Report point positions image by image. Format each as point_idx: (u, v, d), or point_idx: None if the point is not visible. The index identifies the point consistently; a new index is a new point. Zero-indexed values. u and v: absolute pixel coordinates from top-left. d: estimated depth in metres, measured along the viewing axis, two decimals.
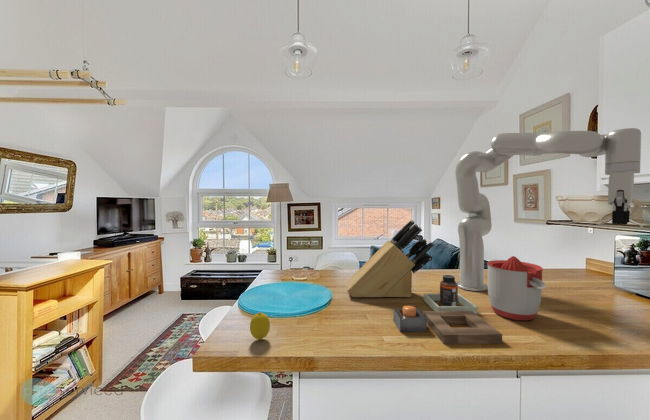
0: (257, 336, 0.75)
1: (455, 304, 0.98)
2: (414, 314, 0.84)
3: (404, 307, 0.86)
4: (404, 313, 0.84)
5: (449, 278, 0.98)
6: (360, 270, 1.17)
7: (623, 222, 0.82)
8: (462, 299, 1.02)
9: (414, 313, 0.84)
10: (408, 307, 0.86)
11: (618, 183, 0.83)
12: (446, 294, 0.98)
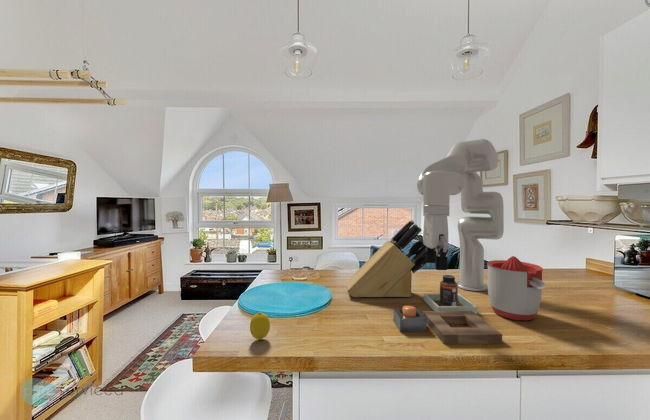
0: (257, 336, 0.75)
1: (455, 304, 0.98)
2: (414, 314, 0.84)
3: (404, 307, 0.86)
4: (404, 313, 0.84)
5: (449, 278, 0.98)
6: (360, 270, 1.17)
7: (444, 268, 0.80)
8: (462, 299, 1.02)
9: (414, 313, 0.84)
10: (408, 307, 0.86)
11: (440, 227, 0.80)
12: (446, 294, 0.98)
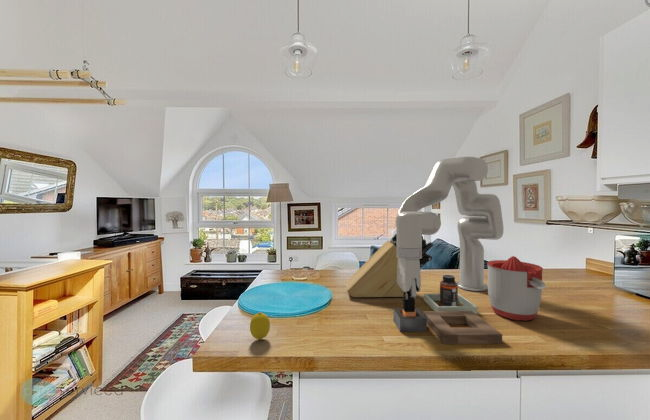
0: (257, 336, 0.75)
1: (455, 304, 0.98)
2: None
3: None
4: (404, 316, 0.84)
5: (449, 278, 0.98)
6: (360, 270, 1.17)
7: (412, 309, 0.84)
8: (462, 299, 1.02)
9: None
10: None
11: (412, 271, 0.80)
12: (446, 294, 0.98)
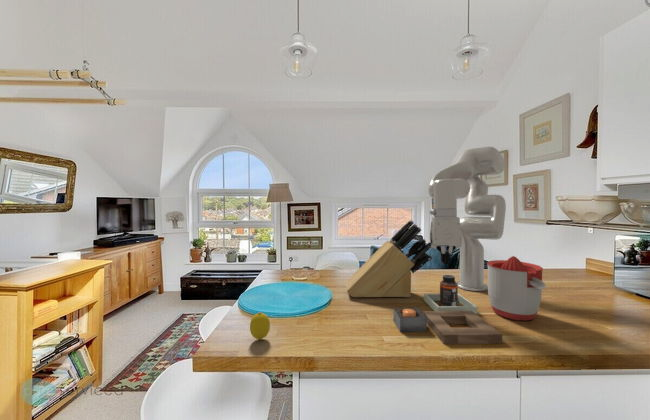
0: (257, 336, 0.75)
1: (455, 304, 0.98)
2: None
3: (404, 310, 0.86)
4: (404, 316, 0.84)
5: (449, 278, 0.98)
6: (359, 270, 1.17)
7: None
8: (462, 299, 1.02)
9: None
10: (408, 310, 0.86)
11: None
12: (446, 294, 0.98)
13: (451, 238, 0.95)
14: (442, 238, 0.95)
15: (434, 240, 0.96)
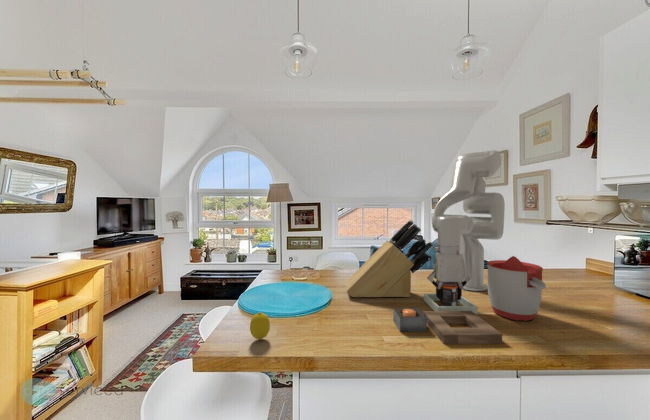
0: (257, 336, 0.75)
1: (455, 304, 0.98)
2: None
3: (404, 310, 0.86)
4: (404, 316, 0.84)
5: None
6: (359, 270, 1.17)
7: None
8: (462, 299, 1.02)
9: None
10: (408, 310, 0.86)
11: None
12: (446, 294, 0.98)
13: (455, 275, 0.97)
14: (446, 275, 0.97)
15: (438, 277, 0.97)
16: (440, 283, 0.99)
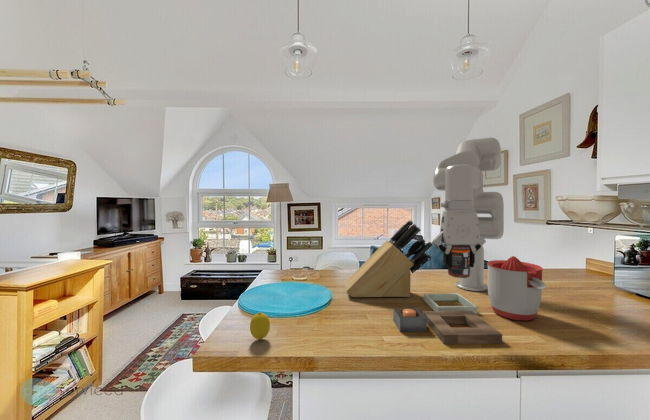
0: (257, 336, 0.75)
1: (467, 272, 0.79)
2: None
3: (404, 310, 0.86)
4: (404, 316, 0.84)
5: None
6: (359, 270, 1.17)
7: None
8: (462, 299, 1.02)
9: None
10: (408, 310, 0.86)
11: None
12: (456, 260, 0.79)
13: (467, 236, 0.79)
14: (456, 236, 0.79)
15: (447, 238, 0.79)
16: (448, 247, 0.80)
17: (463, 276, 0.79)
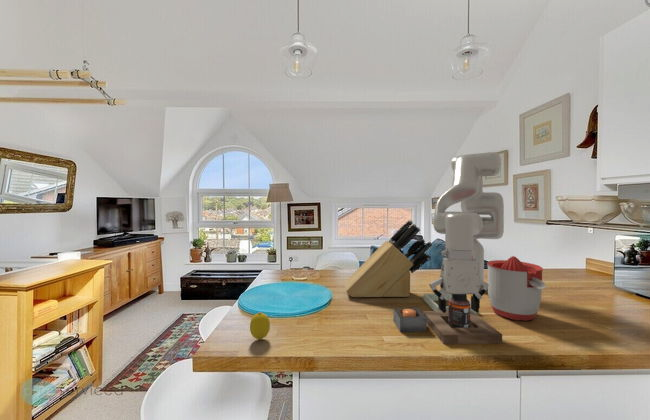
0: (257, 336, 0.75)
1: (467, 327, 0.80)
2: None
3: (404, 310, 0.86)
4: (404, 316, 0.84)
5: (460, 295, 0.80)
6: (359, 270, 1.17)
7: None
8: None
9: None
10: (408, 310, 0.86)
11: None
12: (457, 315, 0.80)
13: (467, 285, 0.79)
14: (456, 285, 0.79)
15: (447, 287, 0.79)
16: (445, 293, 0.81)
17: None
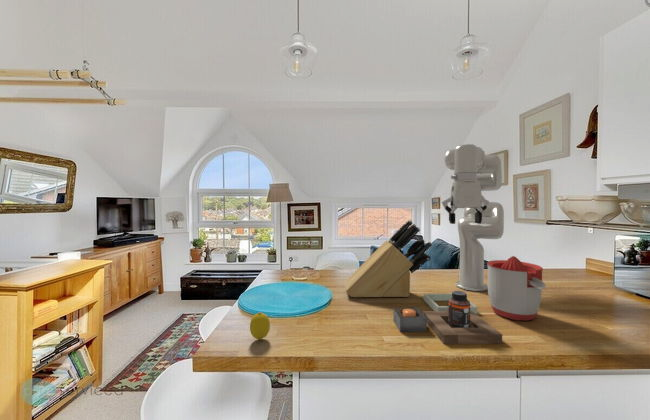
0: (257, 336, 0.75)
1: (467, 327, 0.80)
2: None
3: (404, 310, 0.86)
4: (404, 316, 0.84)
5: (460, 295, 0.80)
6: (358, 270, 1.17)
7: None
8: None
9: None
10: (408, 310, 0.86)
11: None
12: (457, 315, 0.80)
13: (472, 200, 1.00)
14: (463, 200, 1.00)
15: (456, 202, 1.00)
16: (454, 208, 1.02)
17: None
